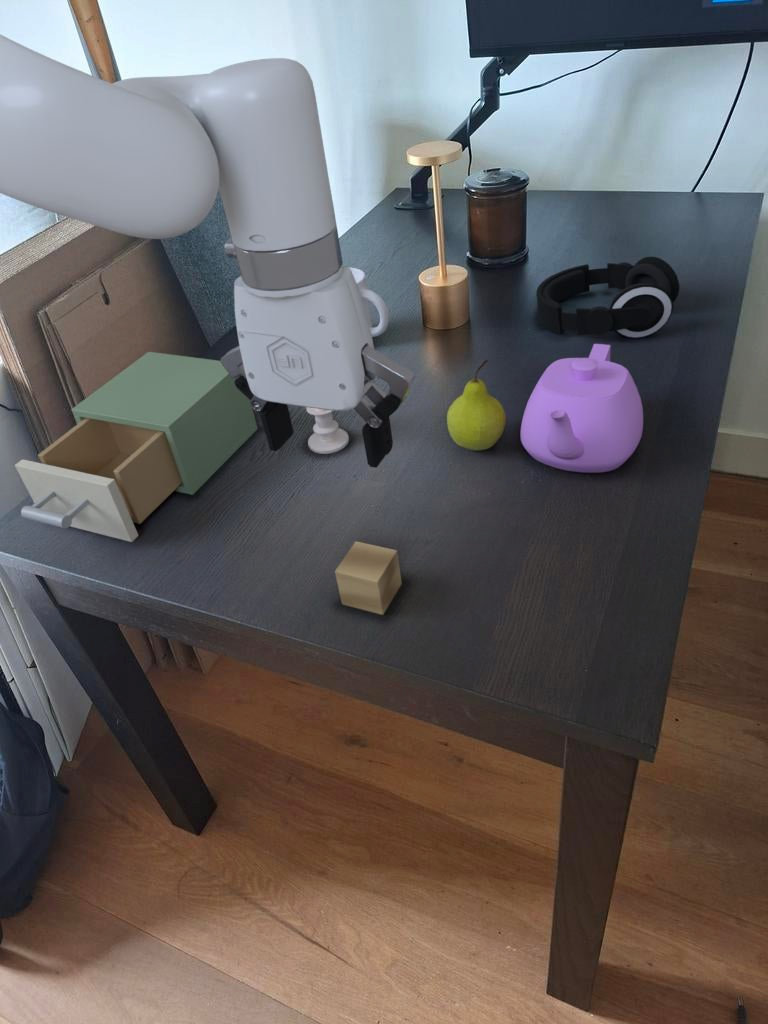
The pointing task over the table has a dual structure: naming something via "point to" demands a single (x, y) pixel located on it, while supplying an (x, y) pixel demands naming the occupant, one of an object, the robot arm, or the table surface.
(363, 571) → the block
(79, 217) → the robot arm
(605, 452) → the teapot
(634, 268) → the headphones
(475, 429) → the fruit
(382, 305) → the mug
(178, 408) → the cabinet
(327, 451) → the candle
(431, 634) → the table surface
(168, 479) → the drawer
